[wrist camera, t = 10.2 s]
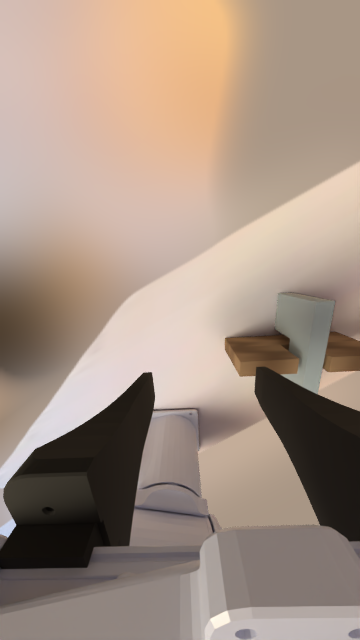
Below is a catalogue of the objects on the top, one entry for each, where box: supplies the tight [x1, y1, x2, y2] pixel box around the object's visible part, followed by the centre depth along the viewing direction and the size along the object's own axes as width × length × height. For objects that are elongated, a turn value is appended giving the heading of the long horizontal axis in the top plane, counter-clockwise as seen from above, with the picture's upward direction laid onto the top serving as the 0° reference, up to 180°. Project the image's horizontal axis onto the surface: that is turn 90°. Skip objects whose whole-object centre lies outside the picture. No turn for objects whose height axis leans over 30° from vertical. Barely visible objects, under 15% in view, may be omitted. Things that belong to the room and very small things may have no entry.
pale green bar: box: [275, 293, 335, 394], centre depth 19 cm, size 2×12×6 cm, turn 4°
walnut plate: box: [225, 332, 360, 376], centre depth 19 cm, size 14×2×6 cm, turn 94°
